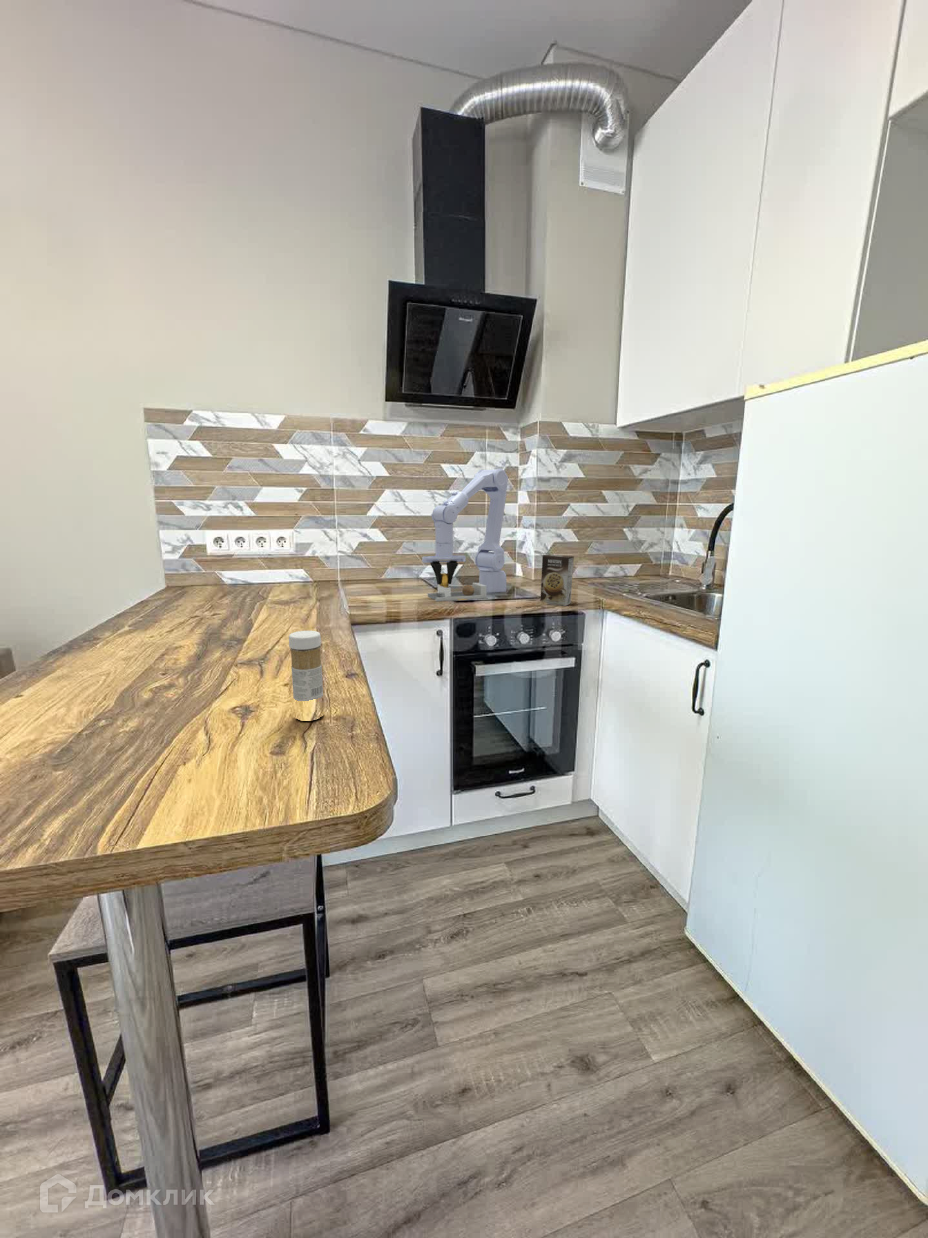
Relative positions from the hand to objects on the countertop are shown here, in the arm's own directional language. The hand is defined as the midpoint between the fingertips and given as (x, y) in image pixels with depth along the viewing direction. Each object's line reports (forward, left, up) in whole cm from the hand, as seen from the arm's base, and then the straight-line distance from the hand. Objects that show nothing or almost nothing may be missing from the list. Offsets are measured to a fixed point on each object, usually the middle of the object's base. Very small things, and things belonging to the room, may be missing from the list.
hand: (444, 583), depth 175 cm
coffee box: (-35, +13, -6) cm, 38 cm away
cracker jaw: (0, 0, -4) cm, 4 cm away
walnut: (-9, 0, -5) cm, 10 cm away
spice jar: (+50, +85, -6) cm, 99 cm away
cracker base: (-5, 0, -6) cm, 8 cm away
